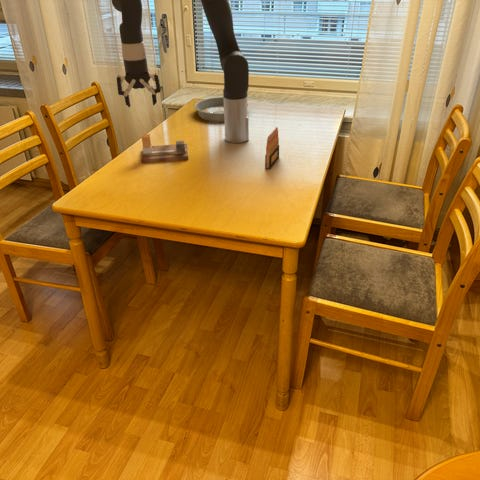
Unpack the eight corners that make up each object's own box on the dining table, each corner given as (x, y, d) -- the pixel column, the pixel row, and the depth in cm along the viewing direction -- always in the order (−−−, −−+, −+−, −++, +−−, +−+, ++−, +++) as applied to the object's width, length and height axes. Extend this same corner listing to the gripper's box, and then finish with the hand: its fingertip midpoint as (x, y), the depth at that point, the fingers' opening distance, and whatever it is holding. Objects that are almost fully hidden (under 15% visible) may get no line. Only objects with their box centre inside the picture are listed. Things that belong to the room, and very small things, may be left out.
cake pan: (258, 110, 214) (258, 101, 211) (229, 127, 197) (228, 116, 194) (215, 102, 225) (214, 93, 222) (184, 117, 208) (183, 107, 205)
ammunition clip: (269, 169, 161) (270, 137, 154) (264, 168, 161) (265, 136, 155) (279, 157, 169) (280, 126, 162) (274, 157, 170) (275, 125, 163)
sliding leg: (152, 147, 174) (150, 130, 170) (152, 155, 168) (149, 137, 164) (144, 148, 174) (142, 130, 170) (144, 155, 168) (141, 137, 164)
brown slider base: (187, 147, 179) (186, 133, 176) (188, 159, 169) (187, 145, 166) (143, 150, 177) (141, 136, 174) (141, 163, 167) (139, 149, 164)
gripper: (156, 53, 154) (162, 101, 163) (113, 55, 153) (121, 103, 162) (156, 58, 148) (162, 107, 157) (111, 60, 146) (120, 110, 155)
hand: (141, 105), depth 159 cm, fingers open, 8 cm apart
